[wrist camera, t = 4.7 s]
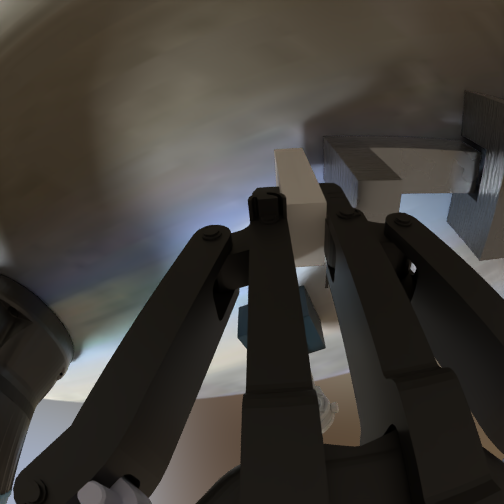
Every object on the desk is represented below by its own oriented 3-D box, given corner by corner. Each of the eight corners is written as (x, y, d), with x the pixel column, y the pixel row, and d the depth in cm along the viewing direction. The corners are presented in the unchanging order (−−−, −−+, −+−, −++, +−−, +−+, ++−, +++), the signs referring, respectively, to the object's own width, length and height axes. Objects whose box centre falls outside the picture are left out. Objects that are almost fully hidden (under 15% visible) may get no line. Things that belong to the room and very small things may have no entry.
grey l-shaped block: (323, 179, 19) (353, 240, 14) (323, 136, 18) (358, 181, 12) (455, 177, 19) (513, 229, 13) (461, 140, 17) (526, 183, 11)
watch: (269, 350, 29) (273, 461, 20) (228, 293, 25) (218, 424, 16) (327, 332, 27) (348, 446, 18) (296, 268, 23) (317, 404, 14)
